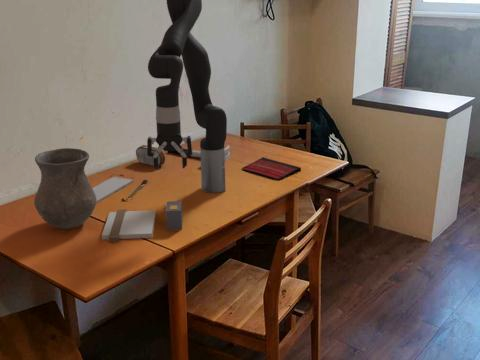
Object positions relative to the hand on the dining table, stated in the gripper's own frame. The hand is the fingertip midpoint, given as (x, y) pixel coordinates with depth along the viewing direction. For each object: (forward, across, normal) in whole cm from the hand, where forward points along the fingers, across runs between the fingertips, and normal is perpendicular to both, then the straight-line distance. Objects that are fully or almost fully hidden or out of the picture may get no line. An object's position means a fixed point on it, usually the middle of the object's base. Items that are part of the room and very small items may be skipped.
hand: (170, 167), depth 178 cm
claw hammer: (+21, -7, -72) cm, 76 cm away
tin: (+20, +13, -62) cm, 66 cm away
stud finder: (+20, 0, 0) cm, 21 cm away
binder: (+20, -39, -50) cm, 67 cm away
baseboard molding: (+21, +31, -31) cm, 48 cm away
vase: (+21, +36, -3) cm, 41 cm away
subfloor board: (+21, +14, 0) cm, 25 cm away
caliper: (+21, +15, -31) cm, 40 cm away
